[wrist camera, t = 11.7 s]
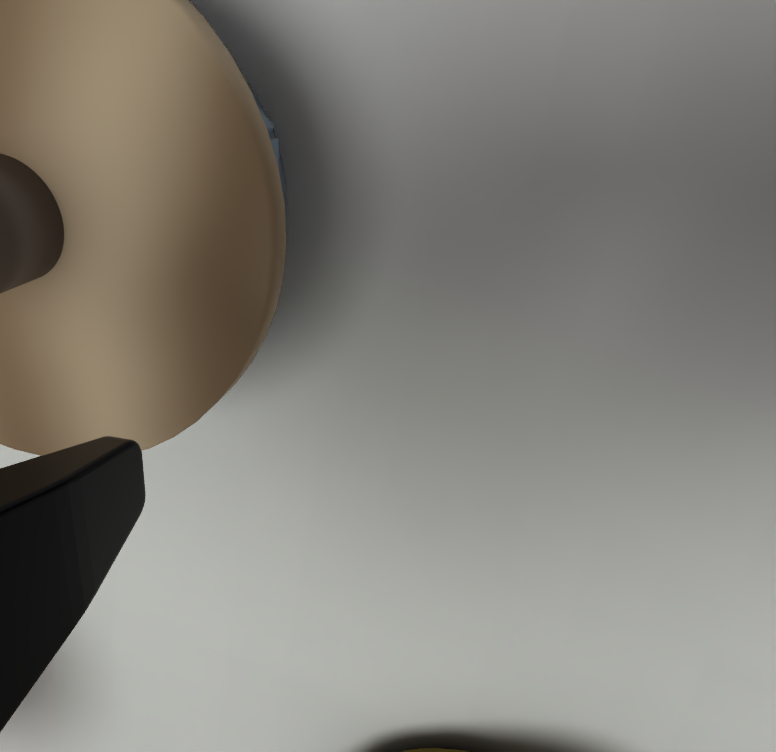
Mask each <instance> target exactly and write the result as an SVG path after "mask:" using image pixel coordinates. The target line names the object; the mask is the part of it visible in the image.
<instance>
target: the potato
mask: <svg viewBox="0 0 776 752" xmlns="http://www.w3.org/2000/svg"><path fill="white" fill-rule="evenodd" d="M401 752H468V751H462V750H456V749H442V748H422V749H413V750H405V751H401Z"/></svg>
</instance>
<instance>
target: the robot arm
mask: <svg viewBox="0 0 776 752" xmlns="http://www.w3.org/2000/svg"><path fill="white" fill-rule="evenodd" d="M144 503H145V484H144V472H143V461H142V452H141V448H140V446H139V444H138V443H137V442H136V441H134V440H130V439H124V438H118V437H113V436H105V437H101V438H98V439H94V440H91V441H88V442H85V443H82V444H78V445H75V446H72V447H69V448H65V449H62V450H59V451H56V452H53V453H49V454H46V455H43V456H40V457H36V458H33V459H30V460H27V461H23V462H20V463H17V464H14V465H11V466H7V467H4V468H1V469H0V732H1V730H2V729H3V728H4V726H5V725H6V723H7V722H8V721H9V719H10V718H11V716H12V715H13V713H14V712H15V711H16V709H17V708H18V706H19V705H20V704H21V702H22V701H23V699H24V698H25V697H26V695H27V694H28V692H29V691H30V689H31V688H32V687H33V685H34V684H35V682H36V681H37V680H38V678H39V677H40V675H41V674H42V673H43V671H44V670H45V668H46V667H47V665H48V664H49V663H50V661H51V660H52V658H53V657H54V656H55V654H56V653H57V651H58V650H59V649H60V647H61V646H62V644H63V643H64V641H65V640H66V639H67V637H68V636H69V634H70V633H71V632H72V630H73V629H74V627H75V626H76V624H77V623H78V621H79V620H80V618H81V617H82V615H83V614H84V613H85V611H86V609H87V608H88V606H89V604H90V603H91V601H92V599H93V598H94V596H95V595H96V593H97V591H98V589H99V587H100V586H101V584H102V582H103V580H104V578H105V577H106V575H107V573H108V571H109V570H110V568H111V566H112V564H113V562H114V561H115V559H116V557H117V555H118V554H119V552H120V550H121V548H122V546H123V545H124V543H125V541H126V539H127V538H128V536H129V534H130V532H131V530H132V529H133V527H134V525H135V523H136V521H137V520H138V518H139V516H140V514H141V512H142V509H143V507H144Z"/></svg>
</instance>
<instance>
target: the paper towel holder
mask: <svg viewBox="0 0 776 752" xmlns="http://www.w3.org/2000/svg"><path fill="white" fill-rule="evenodd" d="M285 253H286V221H285V204H284V198H283V192H282V186H281V180H280V174H279V169H278V164H277V161H276V158H275V154H274V151H273V147H272V144H271V141H270V137H269V134H268V130H267V127H266V125H265V123H264V120H263V118H262V116H261V113H260V111H259V109H258V106H257V104H256V101H255V99H254V97H253V94H252V92H251V90H250V88H249V86H248V84H247V83H246V81H245V79H244V77H243V76H242V74H241V72H240V70H239V68H238V67H237V65H236V63H235V61H234V60H233V58H232V56H231V54H230V53H229V51H228V50H227V48H226V47H225V46H224V44H223V43H222V41H221V40H220V39H219V37H218V36H217V35H216V33H215V32H214V30H213V29H212V28H211V26H210V25H209V24H208V22H207V21H206V19H205V18H204V17H203V16H202V15H201V14H200V12H199V11H198V10H197V9H196V8H195V7H194V6H193V5H192V4H191V3H190V2H189V0H0V444H2V445H5V446H7V447H10V448H13V449H16V450H20V451H24V452H28V453H33V454H37V455H41V456H43V455H46V454H49V453H53V452H56V451H59V450H62V449H65V448H69V447H72V446H75V445H78V444H82V443H85V442H88V441H91V440H94V439H98V438H101V437H105V436H113V437H118V438H124V439H130V440H134V441H136V442H137V443H138V444H139V446H140V448H141V451H142V450H145V449H149V448H151V447H153V446H156V445H158V444H160V443H162V442H164V441H166V440H168V439H171V438H173V437H175V436H176V435H178V434H179V433H181V432H182V431H183V430H185V429H186V428H188V427H189V426H191V425H192V424H194V423H195V422H197V421H198V420H199V419H200V418H201V417H202V416H203V415H204V414H205V413H206V412H207V411H208V410H209V409H210V408H211V407H213V406H214V405H215V404H216V403H217V402H218V401H219V400H220V399H221V398H222V397H223V396H224V395H225V394H226V393H227V391H228V390H229V389H230V388H231V387H232V386H233V385H234V384H235V383H236V382H237V381H238V379H239V378H240V377H241V376H242V374H243V373H244V372H245V370H246V369H247V368H248V366H249V365H250V364H251V363H252V361H253V359H254V358H255V356H256V354H257V352H258V350H259V348H260V347H261V345H262V343H263V341H264V339H265V337H266V336H267V333H268V330H269V327H270V325H271V322H272V319H273V316H274V314H275V311H276V308H277V305H278V300H279V295H280V291H281V286H282V281H283V277H284V266H285Z"/></svg>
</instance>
